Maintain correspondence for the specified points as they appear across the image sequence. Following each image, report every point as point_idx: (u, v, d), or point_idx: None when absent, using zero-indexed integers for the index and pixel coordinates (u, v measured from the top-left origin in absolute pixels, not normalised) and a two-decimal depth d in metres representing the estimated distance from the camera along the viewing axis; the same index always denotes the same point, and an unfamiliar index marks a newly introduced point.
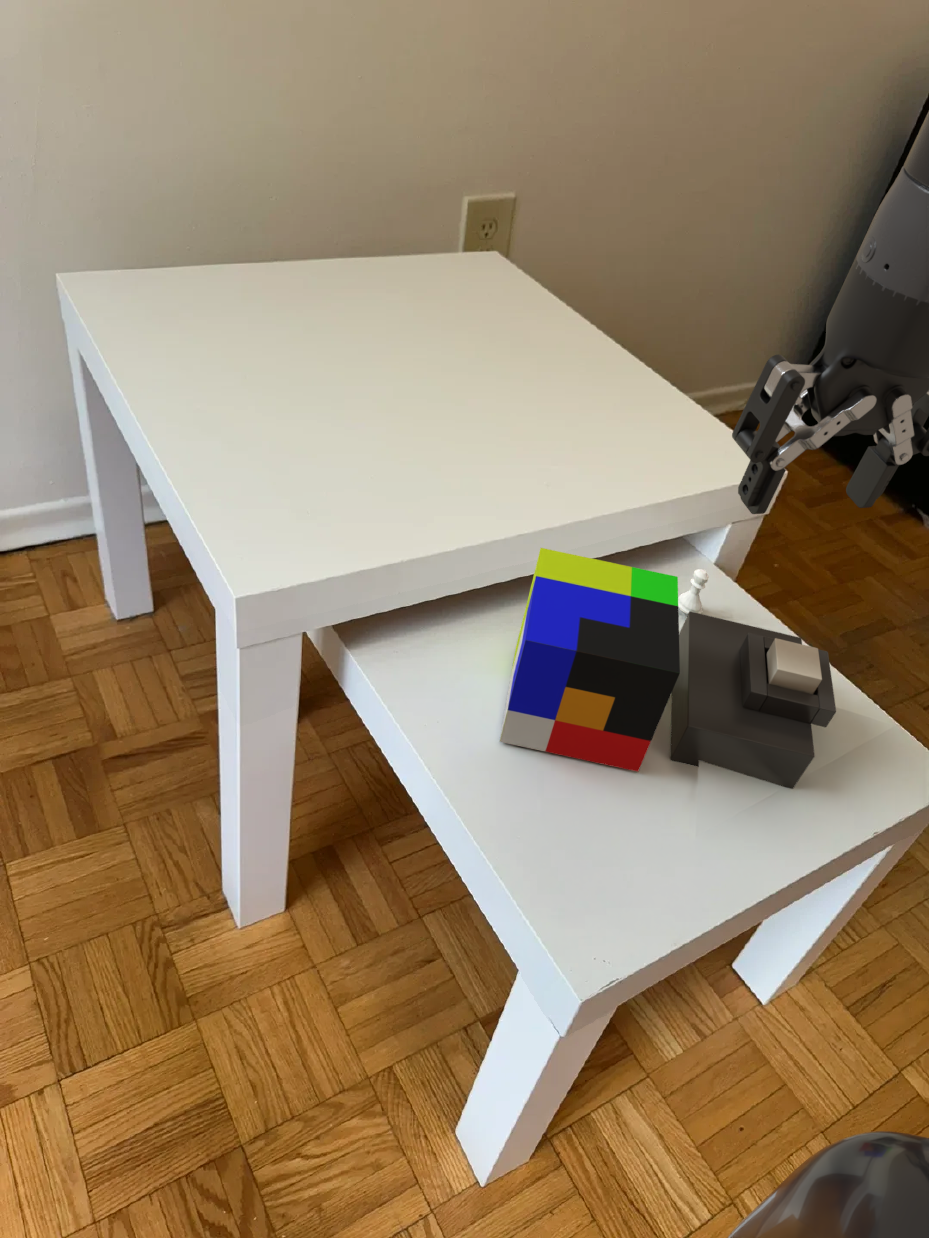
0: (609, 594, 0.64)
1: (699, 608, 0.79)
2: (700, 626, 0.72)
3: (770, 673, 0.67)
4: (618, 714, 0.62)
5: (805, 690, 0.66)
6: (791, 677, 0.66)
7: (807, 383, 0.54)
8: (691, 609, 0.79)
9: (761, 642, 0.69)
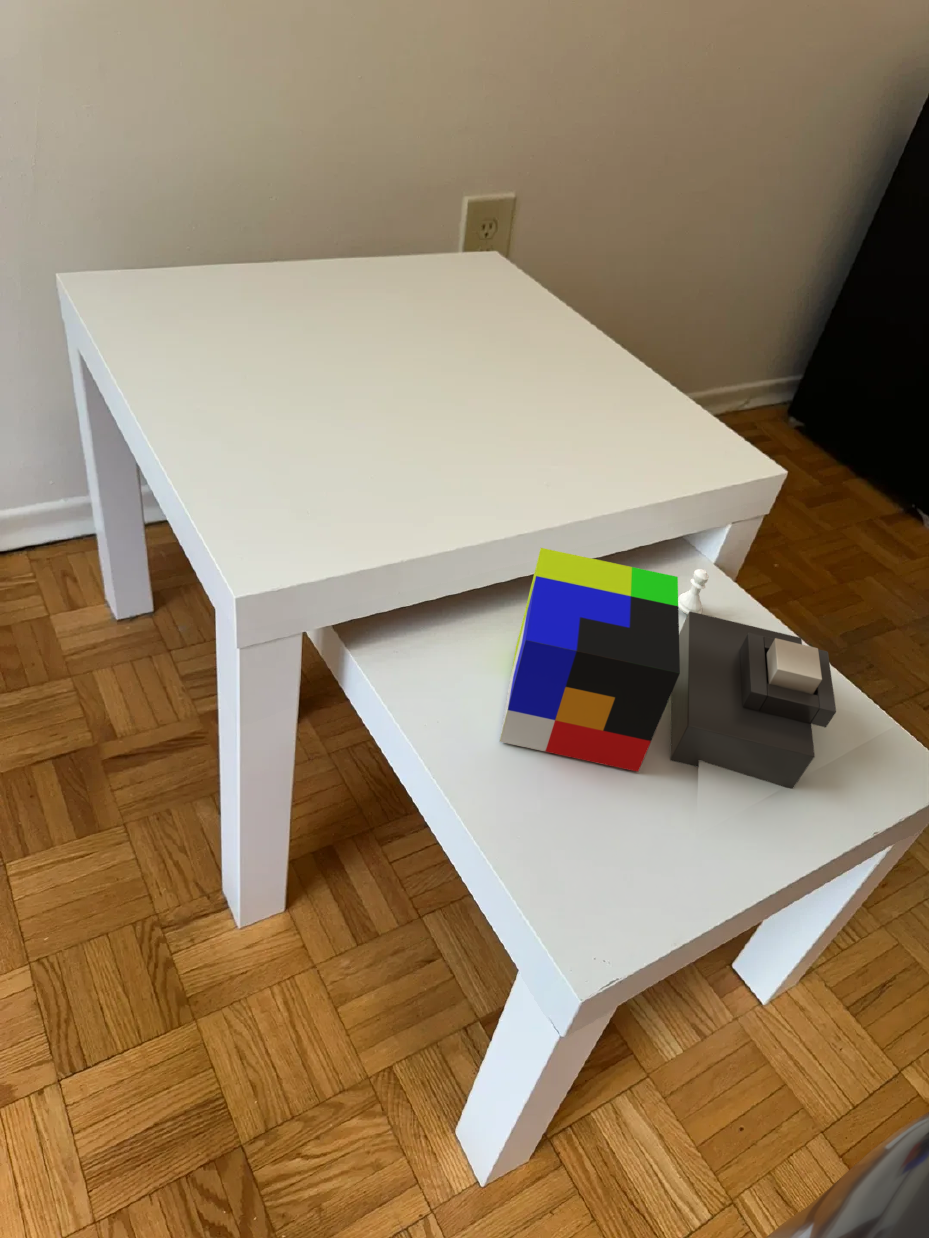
0: (609, 594, 0.64)
1: (699, 608, 0.79)
2: (700, 626, 0.72)
3: (770, 673, 0.67)
4: (618, 714, 0.62)
5: (805, 690, 0.66)
6: (791, 677, 0.66)
7: None
8: (691, 609, 0.79)
9: (761, 642, 0.69)
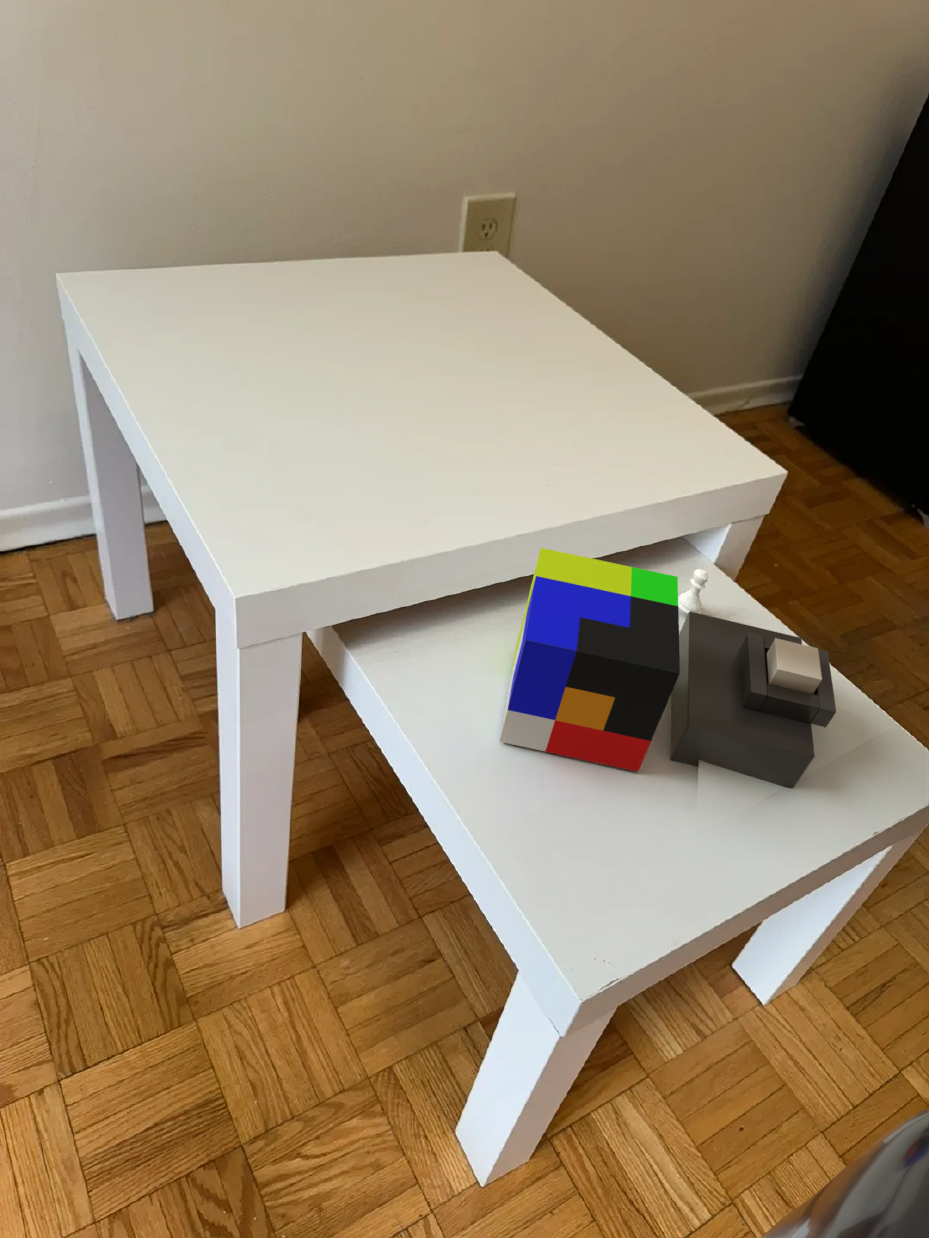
0: (609, 594, 0.64)
1: (699, 608, 0.79)
2: (700, 626, 0.72)
3: (770, 673, 0.67)
4: (618, 714, 0.62)
5: (805, 690, 0.66)
6: (791, 677, 0.66)
7: None
8: (691, 609, 0.79)
9: (761, 642, 0.69)
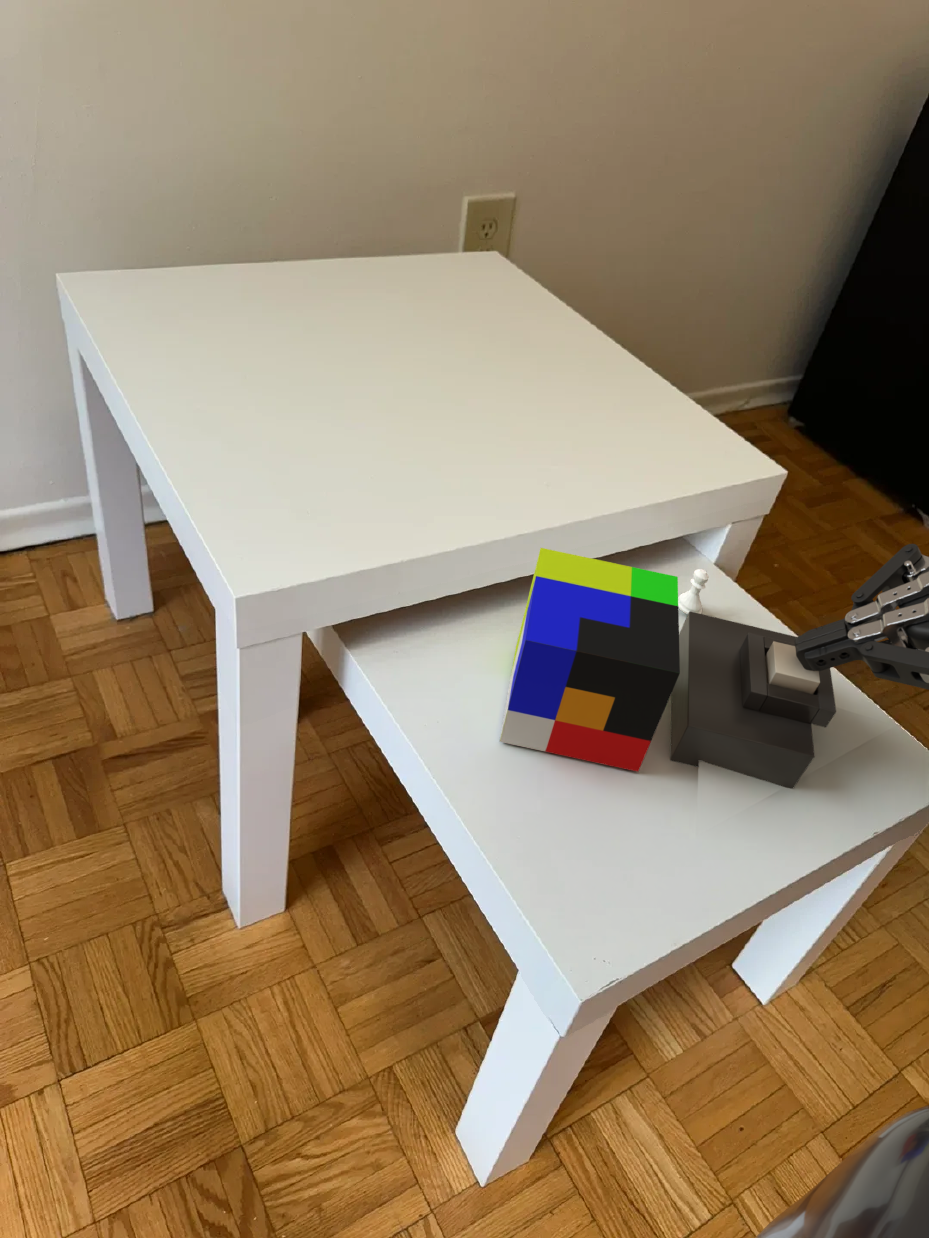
0: (609, 594, 0.64)
1: (699, 608, 0.79)
2: (700, 626, 0.72)
3: (768, 676, 0.67)
4: (618, 714, 0.62)
5: None
6: (789, 680, 0.66)
7: (926, 565, 0.64)
8: (691, 609, 0.79)
9: (761, 642, 0.69)
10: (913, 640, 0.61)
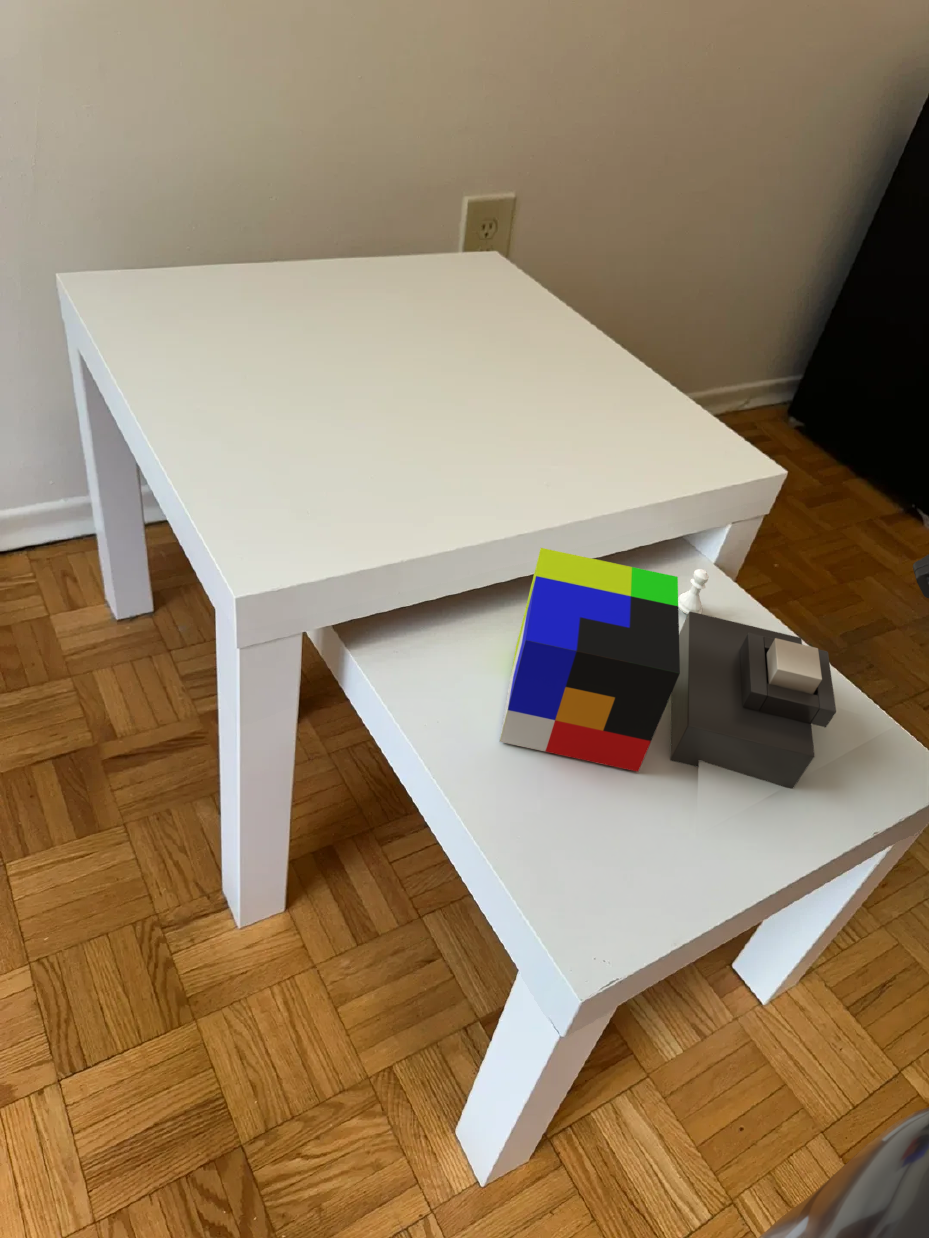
0: (609, 594, 0.64)
1: (699, 608, 0.79)
2: (700, 626, 0.72)
3: (770, 673, 0.67)
4: (618, 714, 0.62)
5: (805, 690, 0.66)
6: (791, 677, 0.66)
7: None
8: (691, 609, 0.79)
9: (761, 642, 0.69)
10: None
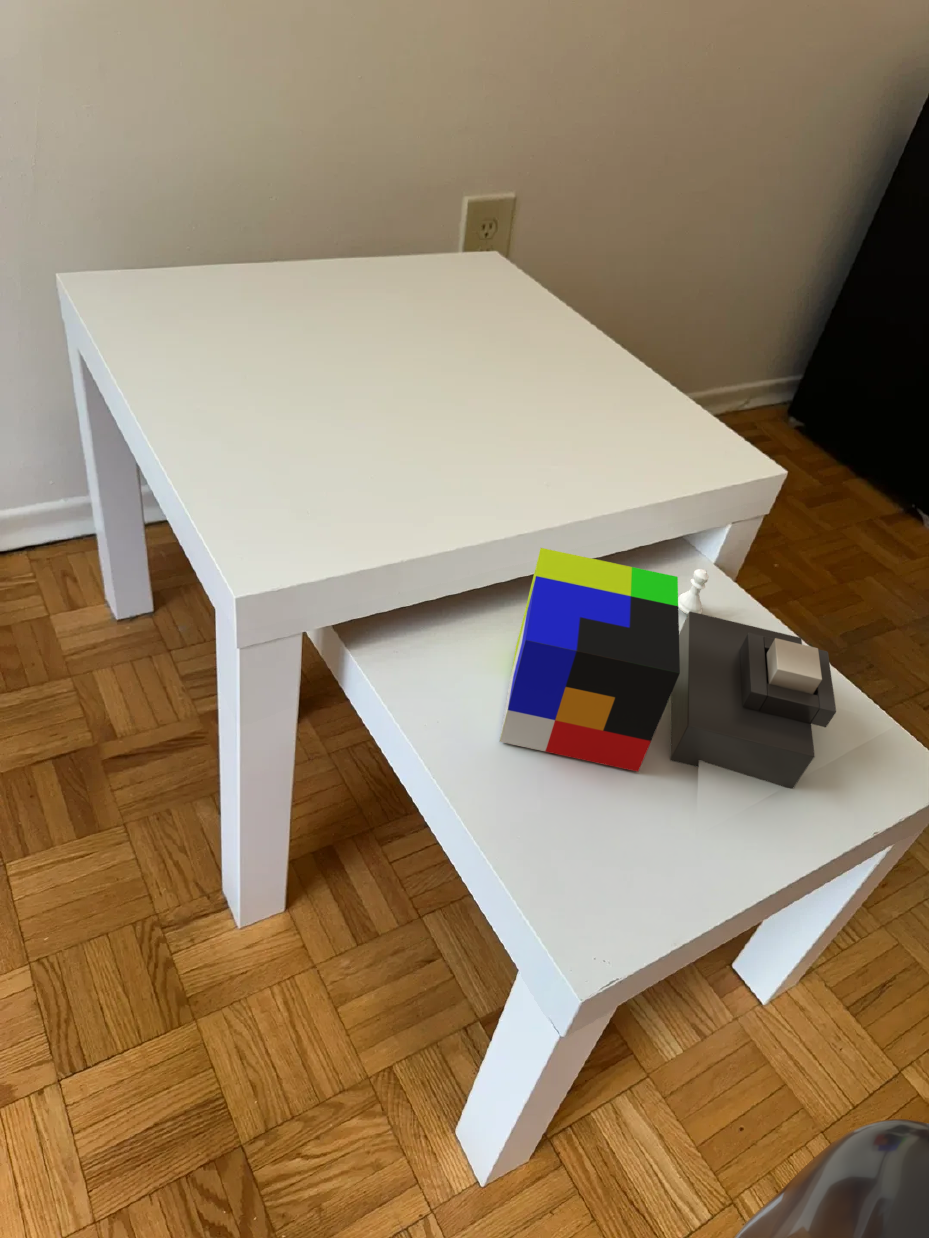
0: (609, 594, 0.64)
1: (699, 608, 0.79)
2: (700, 626, 0.72)
3: (770, 673, 0.67)
4: (618, 714, 0.62)
5: (805, 690, 0.66)
6: (791, 677, 0.66)
7: None
8: (691, 609, 0.79)
9: (761, 642, 0.69)
10: None
